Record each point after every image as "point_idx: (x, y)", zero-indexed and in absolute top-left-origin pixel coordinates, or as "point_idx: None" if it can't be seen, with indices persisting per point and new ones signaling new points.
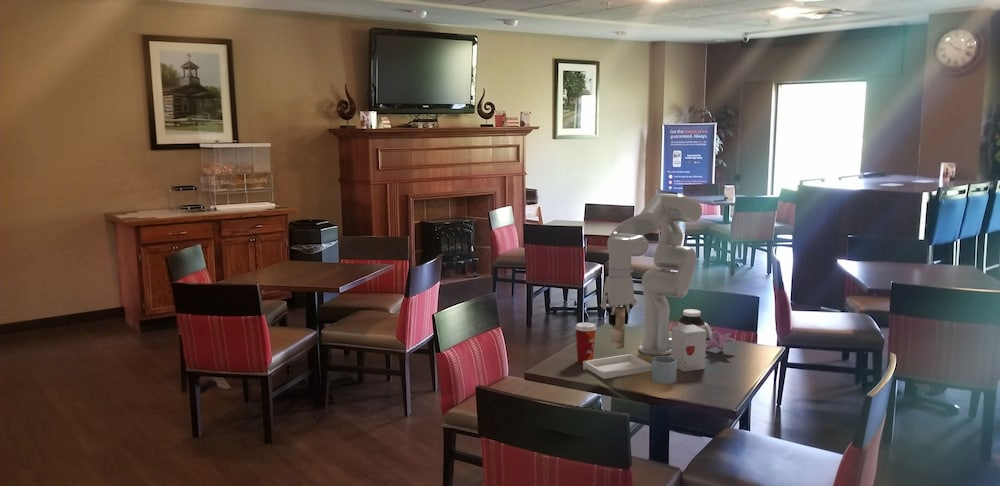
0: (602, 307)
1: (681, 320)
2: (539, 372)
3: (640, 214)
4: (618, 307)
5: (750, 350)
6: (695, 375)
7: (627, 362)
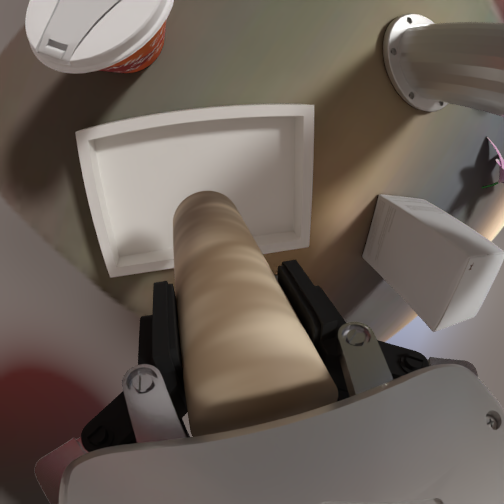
0: (58, 453)
1: None
2: None
3: None
4: (274, 412)
5: None
6: (375, 272)
7: (272, 134)
